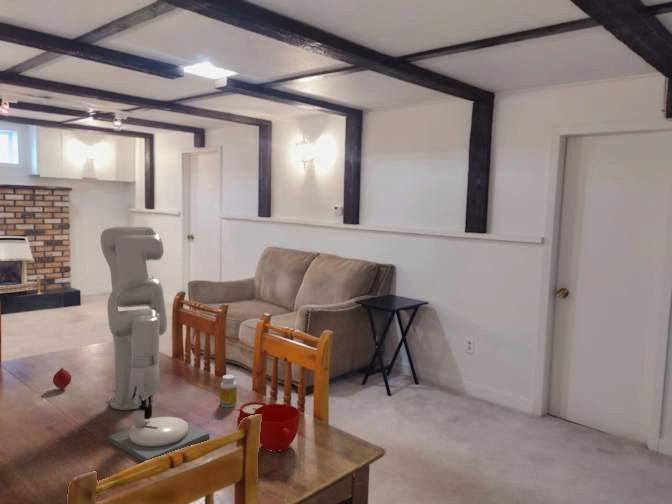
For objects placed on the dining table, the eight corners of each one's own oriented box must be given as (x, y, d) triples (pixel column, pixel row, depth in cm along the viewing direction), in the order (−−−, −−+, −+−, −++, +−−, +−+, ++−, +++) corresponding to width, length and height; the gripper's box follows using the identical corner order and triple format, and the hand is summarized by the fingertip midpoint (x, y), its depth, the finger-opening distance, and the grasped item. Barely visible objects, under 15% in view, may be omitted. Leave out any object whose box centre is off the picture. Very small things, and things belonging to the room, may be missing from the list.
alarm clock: (253, 399, 174) (284, 401, 165) (256, 418, 174) (287, 421, 165) (228, 408, 166) (260, 411, 157) (231, 428, 166) (263, 432, 157)
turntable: (117, 442, 145) (116, 421, 144) (148, 419, 161) (148, 400, 160) (170, 449, 142) (170, 428, 141) (197, 425, 158) (197, 405, 157)
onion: (49, 390, 186) (48, 368, 185) (63, 385, 191) (62, 364, 190) (61, 393, 184) (60, 371, 183) (75, 388, 189) (74, 366, 188)
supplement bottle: (232, 408, 175) (232, 380, 174) (217, 406, 176) (217, 378, 175) (238, 402, 180) (239, 374, 179) (224, 400, 181) (224, 373, 180)
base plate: (107, 441, 150) (107, 435, 150) (168, 418, 165) (168, 413, 165) (147, 464, 138) (147, 458, 137) (209, 437, 153) (209, 432, 153)
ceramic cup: (263, 468, 137) (264, 431, 136) (247, 440, 152) (248, 407, 151) (310, 459, 142) (311, 424, 141) (290, 433, 158) (291, 401, 157)
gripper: (145, 348, 161) (145, 405, 164) (119, 366, 146) (120, 427, 149) (169, 351, 160) (168, 408, 163) (145, 368, 145) (145, 431, 148)
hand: (145, 417), depth 156 cm, fingers closed
